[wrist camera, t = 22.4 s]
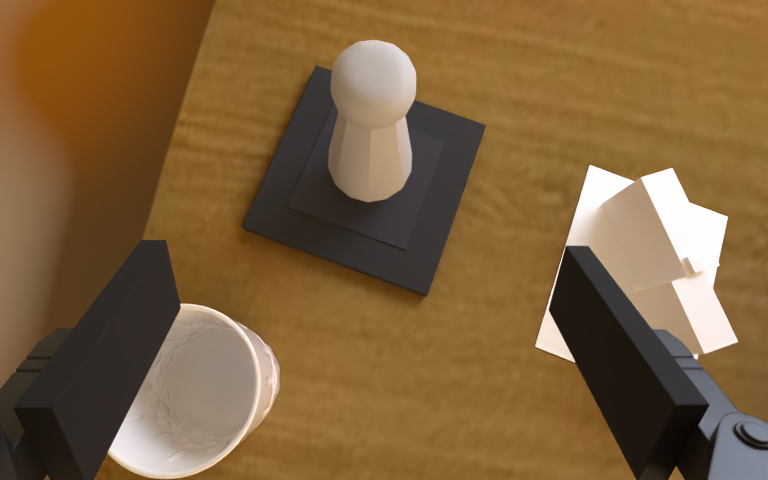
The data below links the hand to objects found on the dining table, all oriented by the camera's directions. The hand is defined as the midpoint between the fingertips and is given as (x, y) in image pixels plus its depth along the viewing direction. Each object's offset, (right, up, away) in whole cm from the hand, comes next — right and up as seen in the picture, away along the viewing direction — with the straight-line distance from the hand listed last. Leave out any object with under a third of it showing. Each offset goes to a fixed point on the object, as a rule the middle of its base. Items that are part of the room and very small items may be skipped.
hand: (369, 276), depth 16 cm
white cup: (-10, -8, +16) cm, 21 cm away
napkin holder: (+19, -2, +19) cm, 27 cm away
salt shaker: (-1, +6, +19) cm, 20 cm away
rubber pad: (-1, +6, +20) cm, 21 cm away
